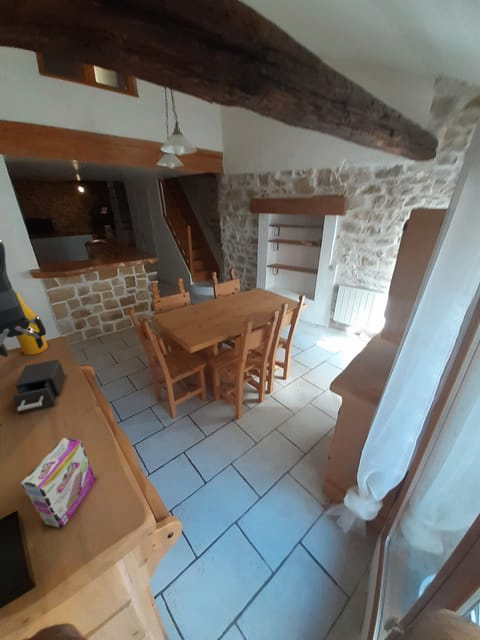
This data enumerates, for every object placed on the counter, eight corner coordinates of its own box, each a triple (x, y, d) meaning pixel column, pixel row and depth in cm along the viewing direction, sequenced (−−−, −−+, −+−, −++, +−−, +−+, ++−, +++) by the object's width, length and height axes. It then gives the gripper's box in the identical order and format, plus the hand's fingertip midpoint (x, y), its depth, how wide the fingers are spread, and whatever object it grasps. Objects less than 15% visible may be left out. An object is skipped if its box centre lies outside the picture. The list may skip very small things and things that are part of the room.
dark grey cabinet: (60, 397, 93) (52, 377, 88) (25, 406, 89) (14, 385, 85) (66, 378, 102) (58, 359, 98) (34, 385, 98) (25, 365, 94)
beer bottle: (36, 358, 114) (10, 299, 101) (19, 355, 116) (-9, 297, 102) (53, 347, 122) (31, 291, 109) (36, 345, 124) (13, 289, 110)
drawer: (52, 415, 84) (44, 398, 81) (17, 424, 81) (7, 406, 78) (60, 387, 96) (54, 371, 93) (31, 393, 93) (23, 377, 90)
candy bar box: (64, 531, 57) (39, 489, 49) (45, 526, 57) (17, 484, 50) (98, 481, 66) (81, 439, 59) (81, 477, 67) (62, 436, 60)
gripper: (33, 296, 79) (50, 339, 87) (-28, 305, 72) (-4, 352, 79) (32, 304, 74) (50, 350, 81) (-34, 315, 66) (-8, 364, 74)
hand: (23, 351), depth 80 cm, fingers open, 8 cm apart
